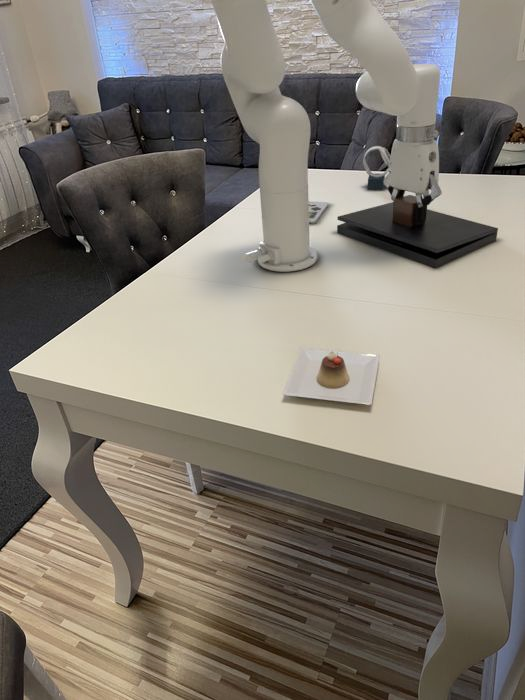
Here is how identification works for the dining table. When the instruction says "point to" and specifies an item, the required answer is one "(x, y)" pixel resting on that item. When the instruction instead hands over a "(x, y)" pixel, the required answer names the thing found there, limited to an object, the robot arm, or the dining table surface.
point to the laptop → (411, 250)
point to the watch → (377, 179)
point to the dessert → (333, 376)
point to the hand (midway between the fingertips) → (408, 219)
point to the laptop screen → (420, 228)
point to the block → (404, 210)
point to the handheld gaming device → (316, 210)
